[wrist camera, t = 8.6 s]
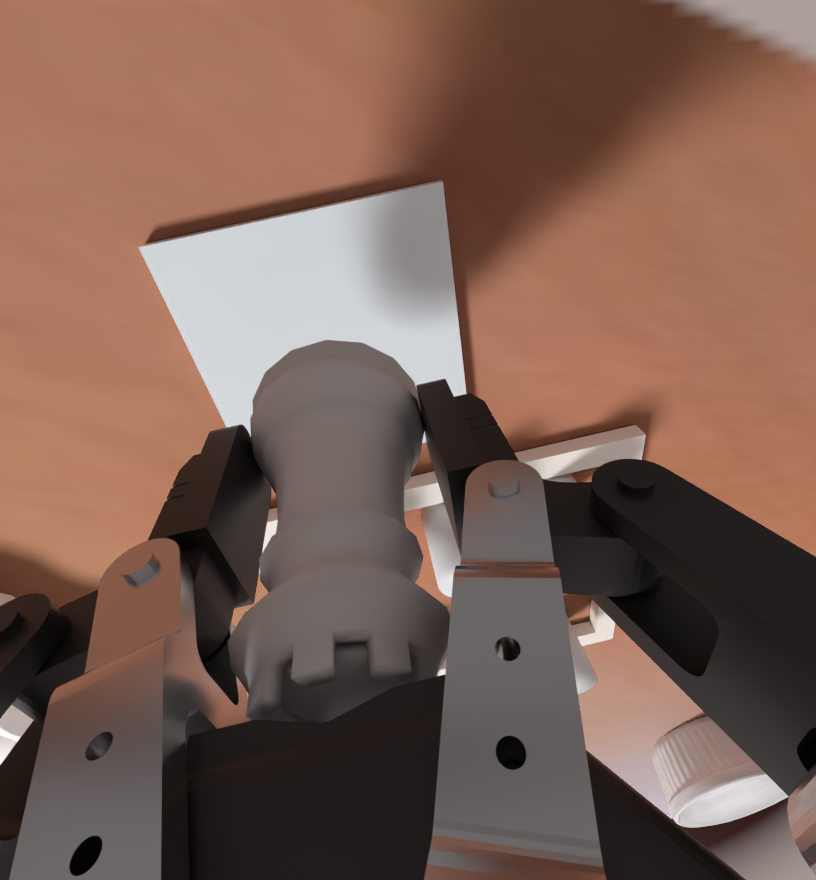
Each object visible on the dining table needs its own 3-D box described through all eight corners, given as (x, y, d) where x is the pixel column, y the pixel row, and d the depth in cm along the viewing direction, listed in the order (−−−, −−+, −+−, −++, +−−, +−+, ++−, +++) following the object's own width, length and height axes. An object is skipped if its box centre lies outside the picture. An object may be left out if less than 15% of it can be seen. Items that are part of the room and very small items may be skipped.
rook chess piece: (415, 323, 11) (531, 582, 5) (421, 464, 14) (504, 760, 7) (234, 342, 11) (87, 650, 4) (274, 483, 13) (220, 814, 7)
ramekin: (668, 712, 39) (711, 785, 34) (778, 698, 41) (832, 765, 36) (623, 768, 45) (655, 836, 41) (721, 754, 47) (761, 817, 42)
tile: (255, 474, 18) (253, 481, 18) (144, 244, 13) (138, 247, 13) (467, 425, 19) (470, 431, 18) (439, 180, 14) (442, 181, 13)
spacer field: (334, 693, 29) (335, 764, 25) (238, 516, 20) (219, 593, 16) (606, 627, 29) (641, 689, 26) (635, 424, 20) (695, 481, 17)
